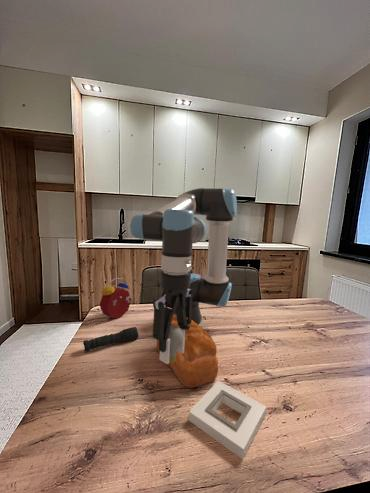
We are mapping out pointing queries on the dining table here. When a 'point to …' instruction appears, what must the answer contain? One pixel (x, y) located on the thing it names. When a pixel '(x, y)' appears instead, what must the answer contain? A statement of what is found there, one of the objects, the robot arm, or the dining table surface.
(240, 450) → the socket block
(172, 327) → the light bulb
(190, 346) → the bread
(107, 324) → the dining table surface
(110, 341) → the flashlight
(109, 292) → the alarm clock
